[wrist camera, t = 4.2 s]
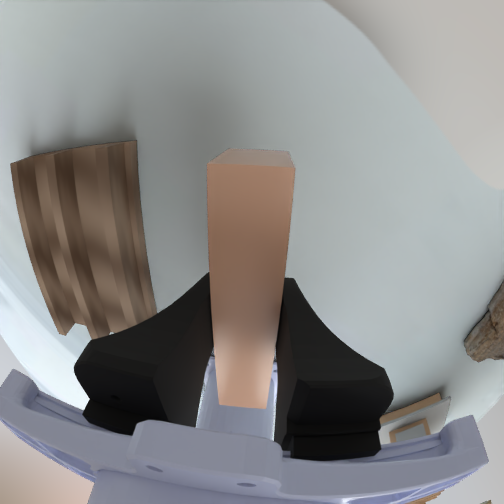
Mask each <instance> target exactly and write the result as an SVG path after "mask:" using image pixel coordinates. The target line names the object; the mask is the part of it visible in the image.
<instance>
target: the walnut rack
mask: <svg viewBox="0 0 504 504" xmlns="http://www.w3.org/2000/svg"><path fill="white" fill-rule="evenodd" d="M10 165H11V173H12V181H13V187H14V193H15V199H16V204H17V209H18V214H19V219H20V223H21V227H22V231H23V235H24V239H25V243H26V247H27V250H28V253H29V257H30V260H31V263H32V266H33V270H34V273H35V275H36V278H37V281H38V284H39V287H40V289H41V292H42V295H43V297H44V300H45V302H46V305H47V307H48V310H49V312H50V314H51V317H52V319H53V321H54V323H55V326H56V328H57V330H58V332H59V334H62V335H65V336H66V334H67V333H68V332H69V330H70V329H71V328H72V326H73V325H74V324H75V323H77V324H81V325H85V326H87V329H88V331H89V334H90V336H91V338H92V339H97V338H100V337H104V336H107V335H109V334H110V332H115V333H117V332H120V331H122V330H125V329H128V328H130V327H132V326H135V325H137V324H139V323H141V322H143V321H145V320H147V319H149V318H151V317H152V316H154V315H156V314H157V310H156V305H155V300H154V295H153V289H152V284H151V278H150V272H149V266H148V259H147V252H146V245H145V238H144V230H143V221H142V212H141V202H140V191H139V178H138V161H137V140H136V141H125V142H115V143H106V144H98V145H90V146H83V147H77V148H71V149H65V150H59V151H54V152H48V153H43V154H38V155H34V156H30V157H27V158H24V159H22V160H19V161H17V162H14V163H11V164H10Z"/></svg>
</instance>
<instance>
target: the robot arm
mask: <svg viewBox="0 0 504 504" xmlns="http://www.w3.org/2000/svg"><path fill="white" fill-rule="evenodd" d="M213 347H214V341H213V327H212V311H211V294H210V273H209V272H208V273H207V274H206V275H205V276H203V277H202V278H201V279H200V280H199V281H198V282H197V283H196V284H195V285H194V286H193V287H192V288H191V289H189V290H188V291H187V292H186V293H185V294H184V295H183V296H181V297H180V298H179V299H178V300H176V301H175V302H174V303H172V304H171V305H170V306H168V307H167V308H165V309H164V310H162V311H161V312H159V313H158V314H156V315H154V316H152V317H151V318H149V319H147V320H145V321H143V322H141V323H139V324H137V325H135V326H132V327H130V328H128V329H125V330H122V331H120V332H117V333H114V334H111V335H107V336H104V337H100V338H97V339H92V340H91V341H90V342H89V343H88V345H87V346H86V348H85V349H84V351H83V352H82V354H81V355H80V357H79V358H78V360H77V362H76V363H75V365H74V373H75V375H76V377H77V380H78V381H79V383H80V385H81V386H82V388H83V389H84V391H85V392H86V394H87V395H88V397H89V398H90V400H89V402H88V403H87V405H86V407H85V409H84V410H81V409H79V408H76V407H74V406H72V405H69V404H67V403H65V402H62V401H60V400H58V399H56V398H54V397H52V396H50V395H48V394H46V393H44V392H42V391H40V390H39V388H38V387H37V385H36V384H35V383H34V382H33V380H31V379H30V378H29V377H28V376H26V375H24V374H22V373H21V372H19V371H17V370H15V369H13V370H12V371H11V372H10V374H9V375H8V377H7V378H6V379H5V381H4V382H3V384H2V385H1V387H0V420H1V422H2V423H3V424H5V425H6V426H7V427H8V428H9V429H10V430H11V431H12V432H13V433H14V434H15V435H16V436H17V437H18V438H20V439H21V440H23V441H24V442H25V443H27V444H28V445H30V446H31V447H33V448H34V449H36V450H37V451H39V452H41V453H42V454H44V455H45V456H47V457H48V458H50V459H52V460H53V461H55V462H57V463H58V464H60V465H62V466H64V467H65V468H67V469H69V470H71V471H72V472H74V473H76V474H78V475H80V476H82V477H84V478H86V479H88V480H90V481H92V482H94V486H93V489H92V492H91V495H90V498H89V500H88V503H87V504H405V503H408V502H411V501H414V500H417V499H420V498H423V497H426V496H429V495H431V494H434V493H437V492H439V491H442V490H444V489H447V488H449V487H452V486H454V485H455V484H457V483H459V482H460V481H462V480H463V479H465V478H467V477H468V476H470V475H471V474H473V473H474V472H476V471H477V470H479V469H480V468H482V467H483V466H485V465H486V464H487V463H488V462H489V460H488V457H487V454H486V450H485V447H484V444H483V441H482V438H481V436H480V433H479V430H478V427H477V425H476V422H475V419H474V417H473V415H469V416H466V417H463V418H459V419H456V420H453V421H451V422H450V423H448V424H447V425H445V426H444V427H443V428H442V429H441V431H440V432H438V433H435V434H431V435H427V436H423V437H418V438H414V439H409V440H404V441H399V442H394V443H388V444H382V445H381V443H380V438H379V433H378V431H380V429H381V424H380V418H381V416H382V415H383V414H384V412H385V411H386V410H387V408H388V407H389V406H390V404H391V402H392V400H393V396H394V393H393V389H392V386H391V383H390V380H389V378H388V376H387V374H386V371H385V369H384V368H382V367H380V366H379V365H377V364H375V363H373V362H371V361H369V360H368V359H366V358H364V357H363V356H361V355H360V354H358V353H357V352H355V351H354V350H353V349H351V348H350V347H349V346H347V345H346V344H345V343H344V342H342V341H341V340H340V339H339V338H338V337H337V336H336V335H334V334H333V333H332V332H331V331H330V330H329V329H328V328H327V327H326V325H325V324H324V323H323V322H322V321H321V320H320V318H319V317H318V316H317V315H316V313H315V312H314V311H313V309H312V308H311V306H310V305H309V303H308V302H307V300H306V299H305V297H304V296H303V294H302V292H301V290H300V289H299V287H298V285H297V283H296V281H295V280H294V278H284V286H283V294H282V302H281V310H280V318H279V325H278V333H277V340H276V360H277V362H273V368H272V374H271V381H270V387H269V394H268V400H267V406H266V409H258V408H246V407H235V406H226V405H219V399H218V389H217V378H216V367H215V357H212V356H211V353H212V350H213ZM203 381H204V382H205V392H204V396H203V400H202V405H201V409H200V413H199V417H198V422H197V426H196V421H197V415H198V408H199V403H200V397H201V391H202V386H203ZM276 396H277V402H276V418H275V432H274V441H272V436H273V414H274V406H275V401H276ZM195 427H196V428H195Z"/></svg>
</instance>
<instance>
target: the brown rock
mask: <svg viewBox="0 0 504 504" xmlns="http://www.w3.org/2000/svg"><path fill="white" fill-rule="evenodd" d="M488 308H489V311H488V312H487V313H486V314H485V317H484V318H483V319H482V320H481V321H480V322H479V323H478V324H477V325H476V326H475V327H474V329H473V330H472V331H471V333H470V334H469V335H468V337H467V338H466V340H465V341H464V346H465V348H466V352H467V355H470V357H471V358H472V359H473V360H475V361H477V362H481V361H483V360H485V359H487V358H491V359H494V360H499V359H504V282H503V283H502V285H501V287H500V289H499V290H498V291H497V293H496V294H495V295H494V297H493V298H492V300H491V302H490V304H489V305H488Z"/></svg>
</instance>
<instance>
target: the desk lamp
mask: <svg viewBox="0 0 504 504" xmlns="http://www.w3.org/2000/svg"><path fill="white" fill-rule="evenodd" d="M450 401H451V397H450V396H449V397H447V398H444V399H441V396H440V394H439V393H437V394H435V395H433V396H431V397H428V398H426V399H424V400H421V401H419V402H417V403H414V404H412V405H409V406H407V407H404V408H402V409H399V410H396V411H394V412H391V413H388V414H385V415H382V416H381V418H380V424H381V429H380V431H378V433H379V438H380V443H381V445H382V444H388V443H394V442H399V441H404V440H409V439H414V438H418V437H423V436H427V435H431V434H435V433H438V432H440V431H441V429H442V428H443V427H444V423H445V420H446V416H447V413H448V409H449V405H450ZM444 490H445V489H444ZM444 490H442V491H444ZM442 491H439V492H437V493H434V494H431V495H429V496H426V497H423V498H420V499H417V500H414V501H411V502H408V503H405V504H426V503H425V502H427V501H430V500H432V499H435V498H437V496H438V495H440V494H441V492H442ZM481 504H491V500H489V501H485V502H483V503H481Z"/></svg>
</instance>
